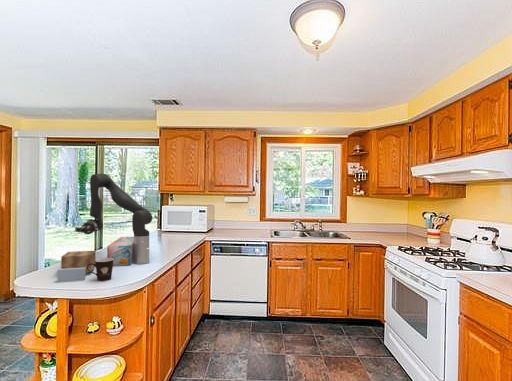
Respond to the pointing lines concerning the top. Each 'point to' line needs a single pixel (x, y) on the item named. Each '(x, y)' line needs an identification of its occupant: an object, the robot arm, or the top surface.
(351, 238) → the top surface
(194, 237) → the top surface
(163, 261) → the top surface
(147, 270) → the top surface
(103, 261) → the coffee mug
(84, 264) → the wood grain cube
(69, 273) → the block
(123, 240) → the soda box
